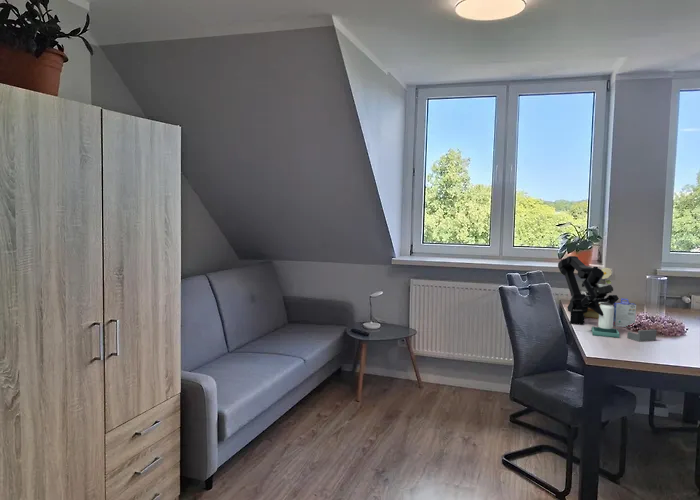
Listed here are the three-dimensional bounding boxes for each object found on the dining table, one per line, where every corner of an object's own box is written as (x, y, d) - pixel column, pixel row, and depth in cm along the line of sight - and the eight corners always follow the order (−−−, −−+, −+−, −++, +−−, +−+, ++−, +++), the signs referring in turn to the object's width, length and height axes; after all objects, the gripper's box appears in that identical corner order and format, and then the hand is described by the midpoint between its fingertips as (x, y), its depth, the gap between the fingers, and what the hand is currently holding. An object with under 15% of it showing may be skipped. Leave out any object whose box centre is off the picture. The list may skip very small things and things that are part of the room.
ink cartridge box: (632, 325, 284) (634, 298, 283) (635, 328, 279) (637, 300, 278) (612, 324, 286) (613, 297, 285) (615, 326, 281) (616, 299, 280)
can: (611, 326, 266) (613, 302, 264) (613, 329, 259) (615, 305, 258) (597, 325, 268) (598, 302, 266) (599, 328, 262) (600, 304, 260)
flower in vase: (587, 304, 345) (589, 266, 343) (602, 304, 348) (605, 265, 346) (601, 308, 332) (603, 268, 330) (617, 308, 335) (619, 268, 333)
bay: (627, 337, 257) (627, 327, 256) (643, 336, 260) (644, 326, 259) (639, 341, 250) (639, 331, 250) (655, 340, 253) (656, 329, 253)
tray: (592, 335, 260) (592, 331, 260) (591, 330, 271) (591, 326, 271) (619, 338, 256) (619, 334, 256) (617, 332, 267) (617, 329, 266)
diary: (582, 311, 325) (583, 302, 324) (617, 314, 317) (617, 305, 317) (582, 318, 304) (582, 308, 303) (618, 321, 296) (619, 311, 296)
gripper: (586, 279, 262) (602, 306, 253) (617, 278, 268) (633, 305, 258) (574, 292, 270) (588, 319, 261) (604, 291, 276) (619, 317, 267)
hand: (608, 315), depth 261 cm, fingers closed on can, 6 cm apart
